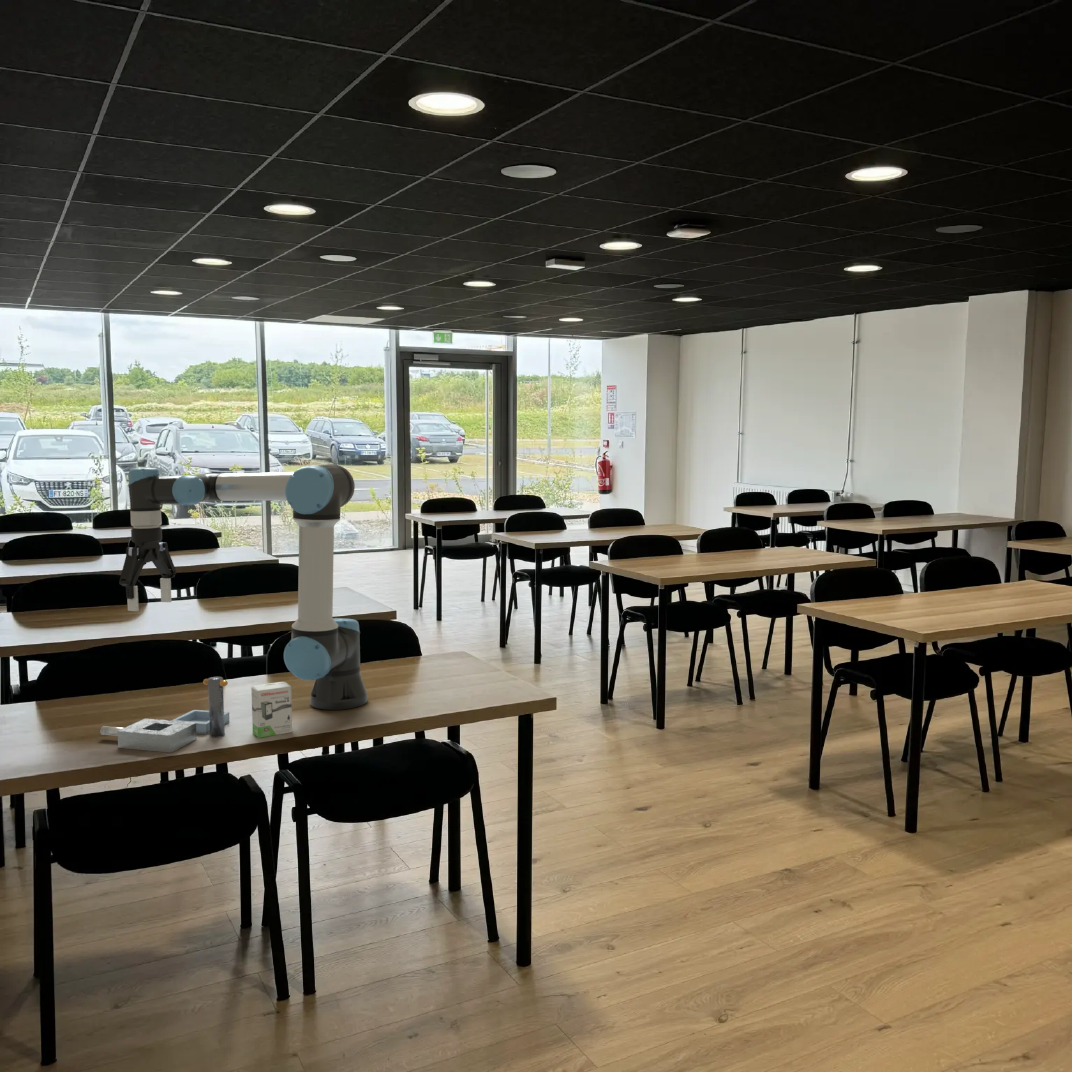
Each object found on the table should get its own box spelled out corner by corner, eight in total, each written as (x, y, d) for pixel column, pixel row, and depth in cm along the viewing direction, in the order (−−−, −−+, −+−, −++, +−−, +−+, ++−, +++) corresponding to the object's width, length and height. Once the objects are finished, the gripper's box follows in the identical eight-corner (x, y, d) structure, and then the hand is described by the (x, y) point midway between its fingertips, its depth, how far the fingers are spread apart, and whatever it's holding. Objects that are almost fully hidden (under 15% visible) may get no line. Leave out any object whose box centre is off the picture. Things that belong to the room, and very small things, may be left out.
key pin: (233, 733, 232) (231, 677, 230) (225, 738, 228) (223, 681, 227) (209, 731, 233) (207, 675, 232) (201, 736, 230) (199, 679, 228)
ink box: (258, 738, 228) (256, 690, 227) (252, 733, 232) (250, 685, 231) (293, 732, 233) (291, 685, 232) (286, 727, 237) (285, 680, 236)
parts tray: (229, 722, 241) (229, 712, 241) (206, 734, 231) (206, 724, 231) (194, 719, 244) (194, 709, 243) (170, 730, 234) (170, 721, 234)
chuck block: (196, 739, 228) (196, 722, 227) (170, 752, 218) (170, 735, 218) (117, 732, 233) (116, 716, 233) (88, 744, 223) (87, 728, 223)
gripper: (163, 522, 264) (167, 597, 266) (101, 531, 240) (105, 614, 242) (187, 522, 262) (191, 599, 264) (126, 531, 238) (131, 615, 240)
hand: (150, 606), depth 253 cm, fingers open, 13 cm apart
